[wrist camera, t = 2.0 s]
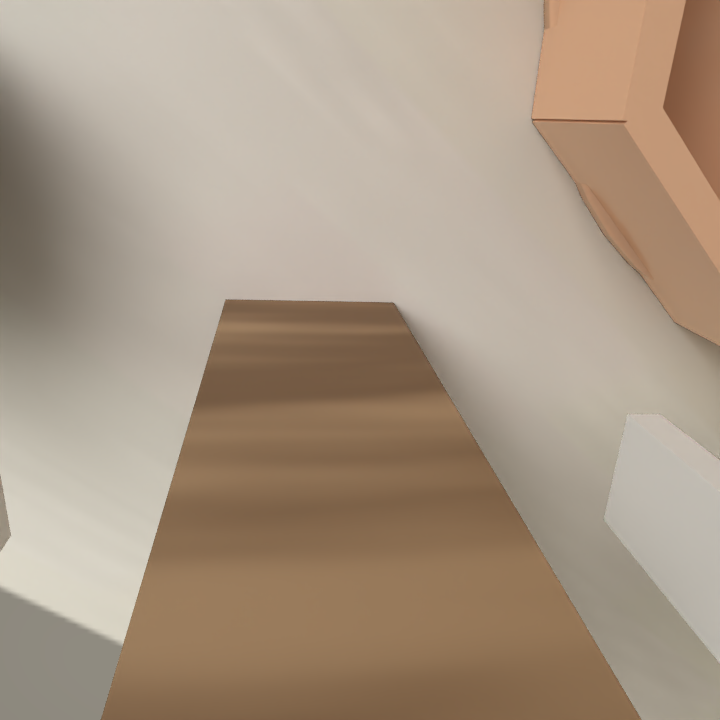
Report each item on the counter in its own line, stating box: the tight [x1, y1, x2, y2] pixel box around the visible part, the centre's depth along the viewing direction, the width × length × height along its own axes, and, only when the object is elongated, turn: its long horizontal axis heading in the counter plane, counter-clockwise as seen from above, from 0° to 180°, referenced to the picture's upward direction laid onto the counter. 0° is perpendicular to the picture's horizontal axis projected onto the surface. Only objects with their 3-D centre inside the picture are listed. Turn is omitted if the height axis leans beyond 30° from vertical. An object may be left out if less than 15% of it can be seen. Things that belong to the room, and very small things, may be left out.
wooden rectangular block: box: [101, 300, 641, 720], centre depth 12 cm, size 3×5×14 cm, turn 87°
